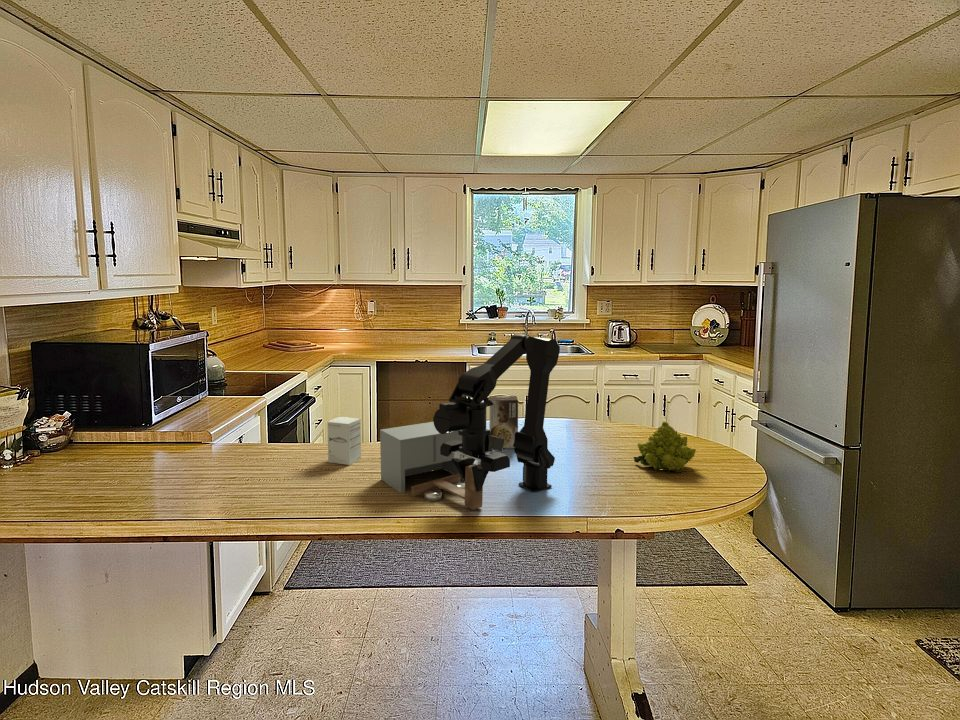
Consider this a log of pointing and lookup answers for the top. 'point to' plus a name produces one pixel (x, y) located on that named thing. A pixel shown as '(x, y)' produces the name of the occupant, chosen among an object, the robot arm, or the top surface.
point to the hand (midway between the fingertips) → (473, 489)
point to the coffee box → (504, 418)
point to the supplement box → (344, 440)
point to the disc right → (459, 485)
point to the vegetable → (665, 450)
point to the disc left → (432, 495)
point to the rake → (455, 488)
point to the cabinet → (413, 452)
